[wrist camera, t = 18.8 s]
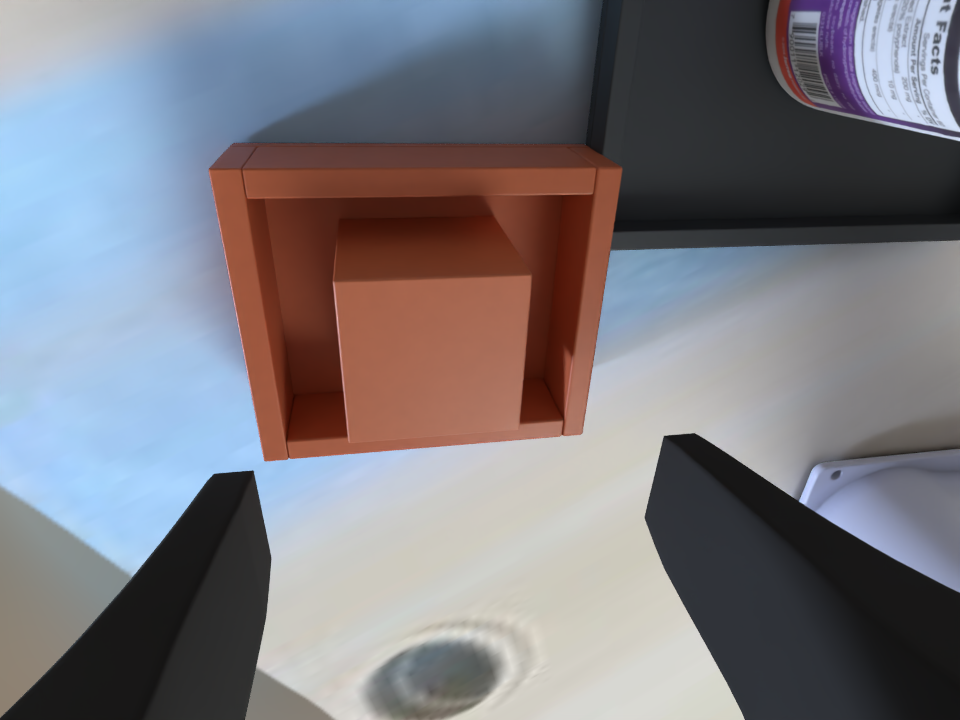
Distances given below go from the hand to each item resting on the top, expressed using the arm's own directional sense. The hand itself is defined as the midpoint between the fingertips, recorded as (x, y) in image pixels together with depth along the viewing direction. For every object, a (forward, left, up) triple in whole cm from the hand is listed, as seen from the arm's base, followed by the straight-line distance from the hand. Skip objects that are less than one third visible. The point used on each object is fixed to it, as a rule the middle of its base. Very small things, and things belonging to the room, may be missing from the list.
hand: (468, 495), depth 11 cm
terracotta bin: (0, 0, -10) cm, 10 cm away
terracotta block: (0, 0, -9) cm, 9 cm away
